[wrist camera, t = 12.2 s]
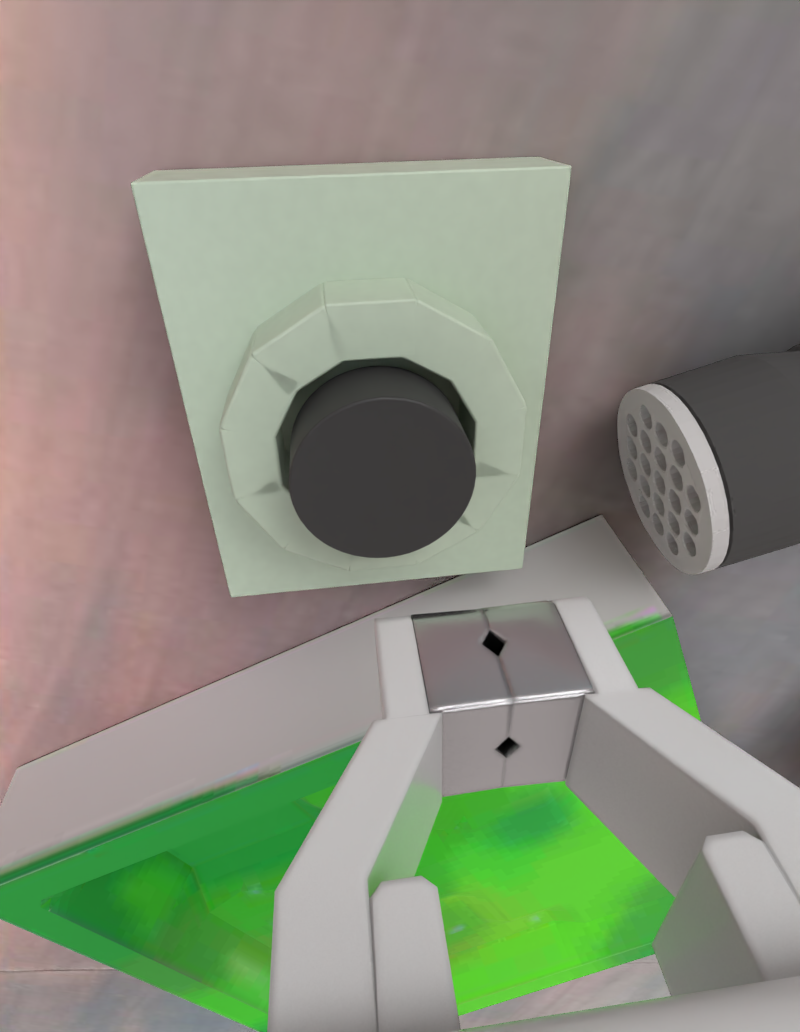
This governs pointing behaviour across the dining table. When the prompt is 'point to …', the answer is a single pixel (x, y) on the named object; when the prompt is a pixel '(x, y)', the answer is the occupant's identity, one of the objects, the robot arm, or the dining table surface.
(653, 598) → the tray
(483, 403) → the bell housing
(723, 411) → the flashlight
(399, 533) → the bell button
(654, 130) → the dining table surface
